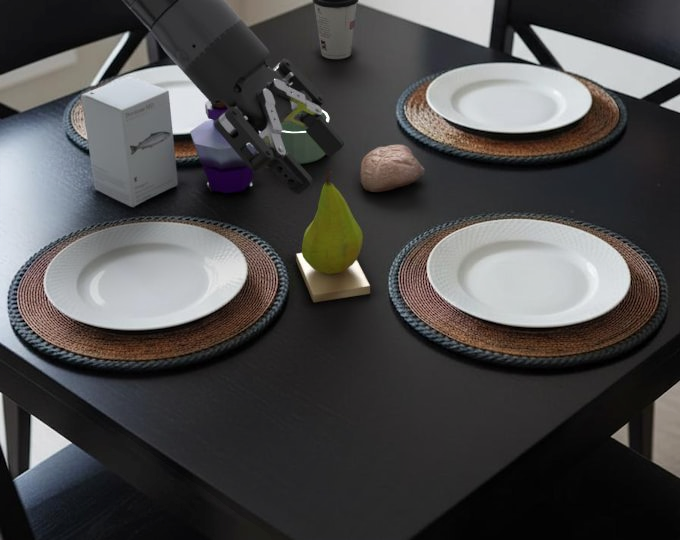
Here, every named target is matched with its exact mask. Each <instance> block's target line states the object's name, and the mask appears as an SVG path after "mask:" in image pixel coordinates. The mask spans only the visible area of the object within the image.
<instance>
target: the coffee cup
mask: <svg viewBox="0 0 680 540" xmlns="http://www.w3.org/2000/svg"><path fill="white" fill-rule="evenodd" d="M312 2H313V4H314V10H315V11H314V12H315V19H316V25H317V26H316V27H317V33H318V40H319V46H320V53H321V56H322V57H324V58H326V59H330V60H331V59H332V60H342V59H347V58H349V57H350V56H351V54H352V48H353V39H354V29H355V21H356V13H357V5H358V3H359V0H312Z"/></svg>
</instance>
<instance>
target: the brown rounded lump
mask: <svg viewBox="0 0 680 540" xmlns="http://www.w3.org/2000/svg"><path fill="white" fill-rule="evenodd" d="M423 175H425V168H424V167H423V166H422V164H421V163H420V161H419V160H418V159H417V158H416V157H415V156H414V154H413V151H412V150H411V149H410V147H408V146H407V145H405V144H399V143H398V144H390V145H387V146H377V147H376V148H375V149H373V150H371V151H370V152H368V153H367V154H366V155H365V156H364V157H363V158H362V161H361V163H360V173H359V179H360V184H361V185H362V188H363V189H365V190H366V192H370V193H381V192H386V191H393V190H395V189H397V188H400V187H406V186H409V185H411V184H413V183H414V182H416V181H417V180H418V179H419V178H420V177H421V176H423Z"/></svg>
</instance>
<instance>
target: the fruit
mask: <svg viewBox="0 0 680 540" xmlns="http://www.w3.org/2000/svg"><path fill="white" fill-rule="evenodd" d="M332 173H333V172H332V170H329V171H328V172H327V175H326V178H325V182H324V184H323V186H322V189H321V192H320V196H319V200H318V206H317V210H316V213H315V216H314V217H313V218H314V219H313V220H312V221H311V223H310V224H309V225H308V226H307V228H306V229H305V231H304V234H303V239H302V243H301V253H302V255H303V258H304V259H305V261H306V262H307V263H308V264H309V265H310V266H311V267H312V268H313V269H315V270H317V271H320V272H323V273H326V274H336V273H340V272H343V271H344V270H346V269H347V268H349V267H350V266H351V265H353V263H354V262H355V261H356V260H357V261H358V258H359V255H360V251H361V249H362V245H363V238H364V235H363V231H362V229H361V227H360V225H359V223H358V222H357V221H356V219H355V218H354V215H353V212H351V209H350V207H349V205H348V203H347V201H346V200H345V199H346V198H345V197H344V196H343V195H342V193H341V192H340V191H339V189H337V187H335V185H334V183H332V182H330V181H329V179H330V176H331V174H332Z"/></svg>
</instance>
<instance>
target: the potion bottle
mask: <svg viewBox="0 0 680 540" xmlns="http://www.w3.org/2000/svg"><path fill="white" fill-rule="evenodd" d="M204 108H205V114H206V116H207V118H208V120H205V121H203V122H202V123H200V124H198V125H197V126H196V127H195V128H193V129H192V130H190V131H189V133H190V136H191V139H192V142H193V145H194V148H195V151H196V154H197V156H198V159H199V162H200V165H201V166H202V168H203V171H204V174H205V177H206V180H207V183H206V185H207V188H208V189H209V191H210V192H211V193H215V194H218V195H222V196H231V195H238V194H243V193H245V192H246V191H248V190H249V188H251V187H252V186H253V182H252V179H253V173H254V171H252V170H251V169H250V168H249V167H248V166H247V165H246V163H245V162H244V161H243V160H242V159H241V157H240V156H239V155H238V154H237V153H236V152H235V150H234V149H233V148H232V147H231V146H230V144H229V143H228V142H227V141H226V140H225V139H224V137H223V136H222V135H221V134H220V133H219V131H218V130H217V129H216V128H215V126H214V122H215V121H216V120H217V119H218V118H219V117H220V116H221V115H222V114H224V113H225V112H226V111H227V110H228V108H227V106H226V105H225V103H224V102H223V101H220V102H219V103H217V104H213V103H211V102H210V101H209V100H207V101H206V102H204ZM260 133H261V132H260V131H259V134H260ZM246 146H247V148H248V149H249V150H250V151H251V153H252V154H253V155H254V156H255V155H256V154H257V150H256V149H255V148H254V147H252V146H251V145H250V143H247V145H246Z"/></svg>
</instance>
